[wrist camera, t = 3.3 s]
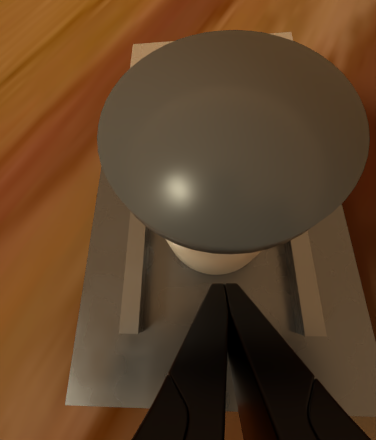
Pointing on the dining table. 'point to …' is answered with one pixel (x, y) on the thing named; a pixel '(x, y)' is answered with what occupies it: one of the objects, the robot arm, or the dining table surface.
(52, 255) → the dining table surface
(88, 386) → the knob mount
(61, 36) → the dining table surface
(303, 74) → the knob
